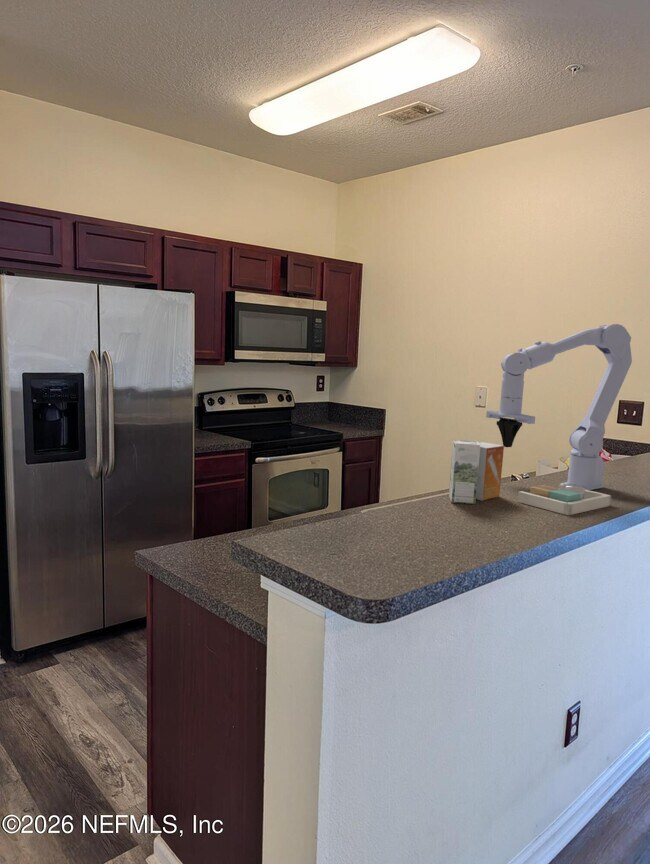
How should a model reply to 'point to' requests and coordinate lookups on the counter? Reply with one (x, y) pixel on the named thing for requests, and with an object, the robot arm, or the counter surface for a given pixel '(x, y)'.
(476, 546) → the counter surface
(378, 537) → the counter surface
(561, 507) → the frame
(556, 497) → the teal block
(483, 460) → the small box
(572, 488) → the aluminium part
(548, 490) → the oak block
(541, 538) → the counter surface
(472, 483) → the syrup box
